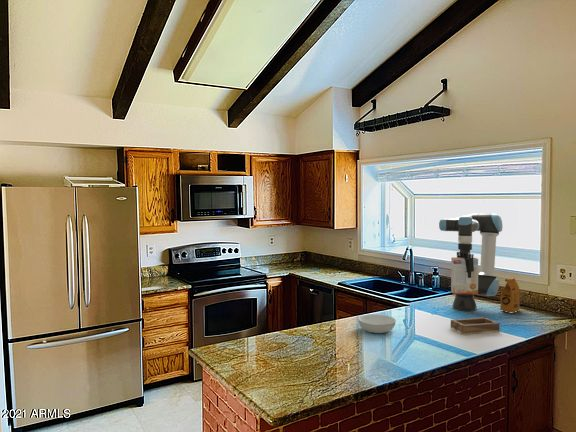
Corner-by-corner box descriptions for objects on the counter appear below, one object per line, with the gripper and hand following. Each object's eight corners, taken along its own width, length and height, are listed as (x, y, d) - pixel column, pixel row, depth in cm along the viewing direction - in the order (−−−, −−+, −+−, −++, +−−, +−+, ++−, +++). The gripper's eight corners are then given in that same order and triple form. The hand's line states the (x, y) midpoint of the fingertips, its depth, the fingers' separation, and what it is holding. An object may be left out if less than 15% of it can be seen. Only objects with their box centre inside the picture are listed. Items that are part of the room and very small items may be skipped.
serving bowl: (353, 333, 251) (353, 321, 251) (364, 324, 269) (364, 312, 269) (390, 338, 241) (390, 326, 241) (399, 328, 260) (399, 316, 260)
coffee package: (497, 311, 297) (497, 278, 296) (507, 308, 304) (507, 276, 303) (512, 314, 289) (512, 280, 288) (522, 311, 296) (522, 278, 295)
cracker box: (475, 292, 265) (475, 257, 265) (478, 294, 259) (478, 258, 259) (450, 292, 267) (451, 256, 266) (453, 294, 261) (453, 258, 260)
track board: (450, 328, 259) (450, 319, 259) (484, 325, 264) (484, 317, 263) (464, 335, 246) (464, 325, 246) (499, 332, 251) (499, 323, 251)
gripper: (449, 241, 271) (449, 279, 272) (469, 244, 252) (468, 285, 252) (461, 241, 273) (460, 279, 273) (481, 244, 253) (480, 285, 254)
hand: (464, 282), depth 263 cm, fingers closed on cracker box, 7 cm apart
